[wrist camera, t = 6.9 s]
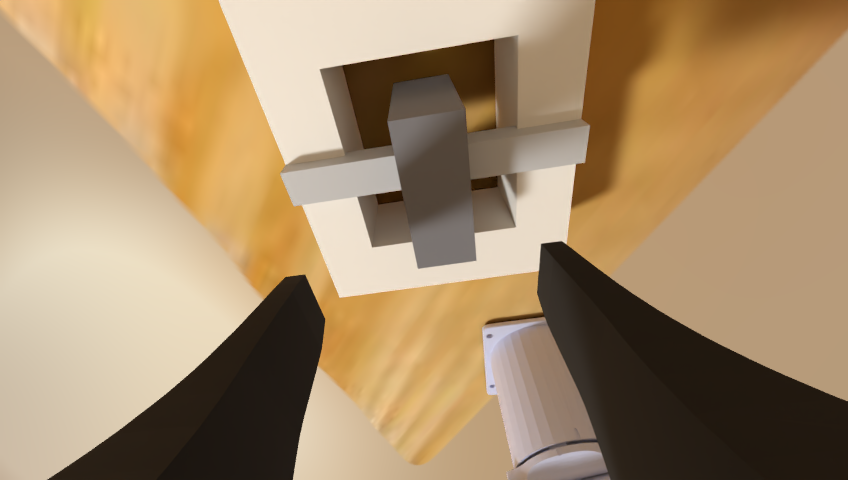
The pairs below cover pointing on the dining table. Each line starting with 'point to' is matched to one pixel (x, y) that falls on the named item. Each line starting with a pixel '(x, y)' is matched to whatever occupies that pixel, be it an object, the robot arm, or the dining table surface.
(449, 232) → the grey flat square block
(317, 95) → the shallow white tray
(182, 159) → the dining table surface
